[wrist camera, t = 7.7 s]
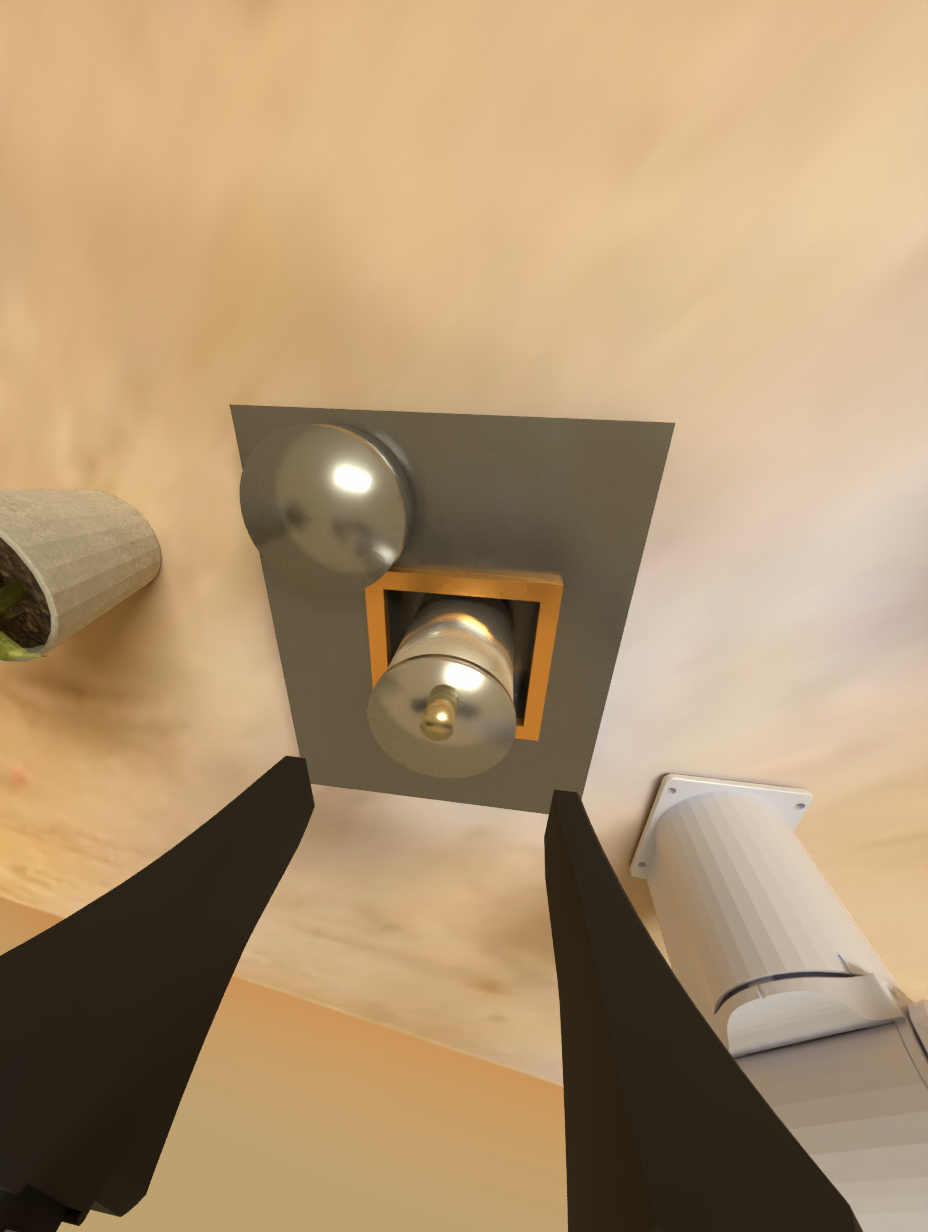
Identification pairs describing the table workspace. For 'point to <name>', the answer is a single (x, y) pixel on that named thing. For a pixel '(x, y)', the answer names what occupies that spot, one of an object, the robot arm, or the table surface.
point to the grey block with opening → (448, 571)
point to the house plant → (66, 564)
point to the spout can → (449, 689)
